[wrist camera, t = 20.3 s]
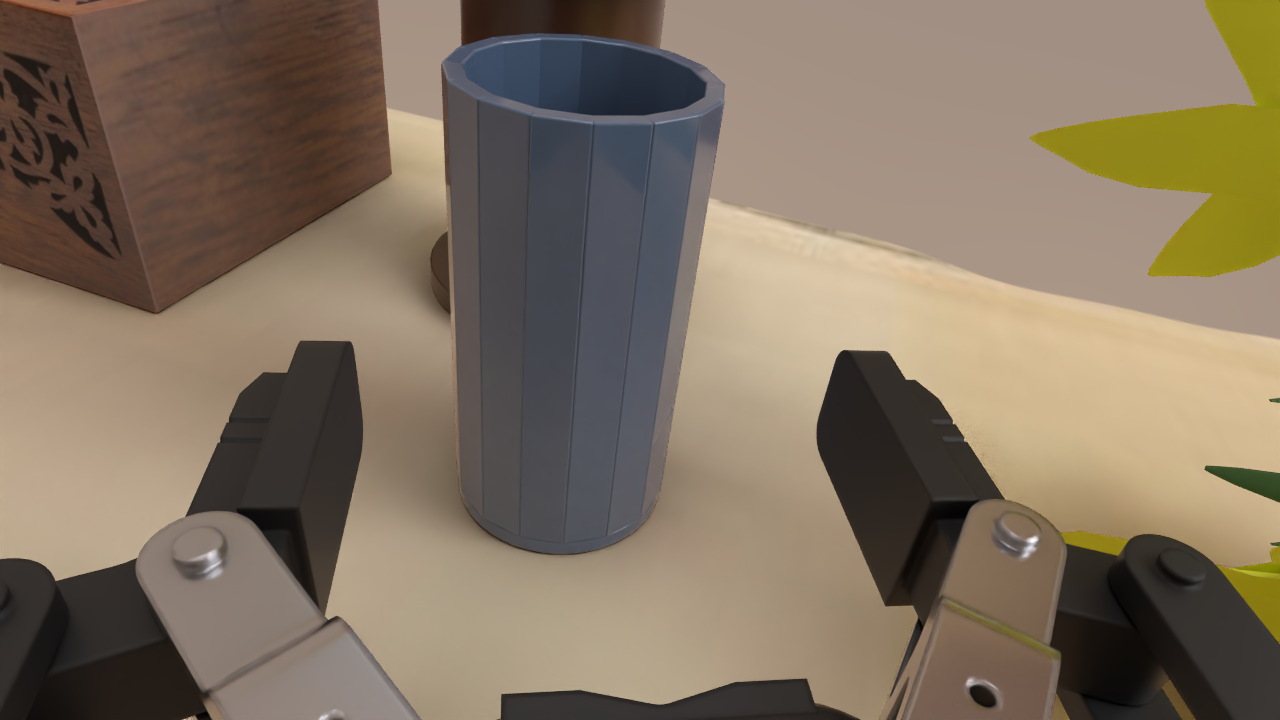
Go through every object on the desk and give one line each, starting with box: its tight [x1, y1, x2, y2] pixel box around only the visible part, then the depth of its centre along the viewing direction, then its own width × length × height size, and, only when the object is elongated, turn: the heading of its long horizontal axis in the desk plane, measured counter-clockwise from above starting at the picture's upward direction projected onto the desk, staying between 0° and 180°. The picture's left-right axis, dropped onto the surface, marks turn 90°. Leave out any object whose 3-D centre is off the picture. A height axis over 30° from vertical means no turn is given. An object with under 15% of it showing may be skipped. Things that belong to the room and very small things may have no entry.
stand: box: [430, 0, 665, 314], centre depth 30 cm, size 11×11×14 cm
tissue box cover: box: [0, 0, 392, 313], centre depth 35 cm, size 26×14×10 cm, turn 70°
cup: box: [441, 33, 725, 554], centre depth 21 cm, size 6×6×12 cm
